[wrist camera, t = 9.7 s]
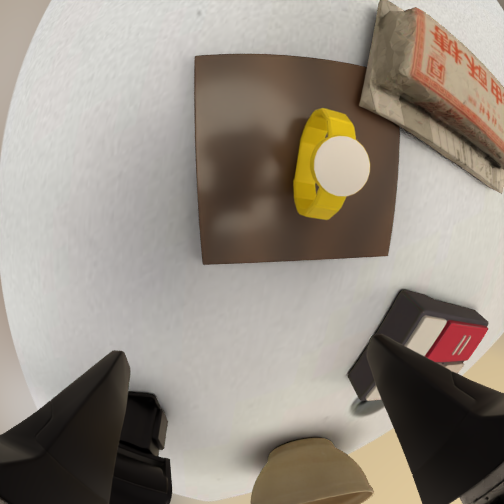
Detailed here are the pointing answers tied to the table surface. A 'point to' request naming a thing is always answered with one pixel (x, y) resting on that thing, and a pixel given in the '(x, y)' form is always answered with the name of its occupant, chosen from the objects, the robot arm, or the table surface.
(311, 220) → the coaster
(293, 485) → the planter bowl
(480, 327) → the calculator
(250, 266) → the table surface
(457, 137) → the packaged product
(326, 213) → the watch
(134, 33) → the table surface
